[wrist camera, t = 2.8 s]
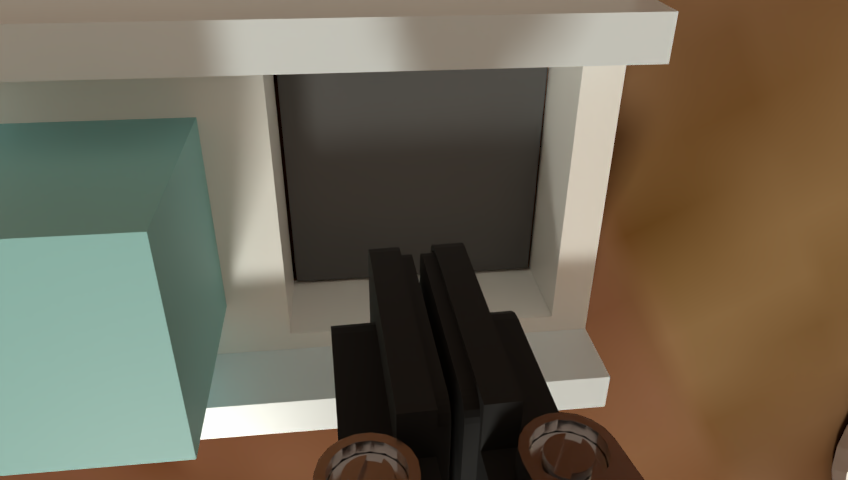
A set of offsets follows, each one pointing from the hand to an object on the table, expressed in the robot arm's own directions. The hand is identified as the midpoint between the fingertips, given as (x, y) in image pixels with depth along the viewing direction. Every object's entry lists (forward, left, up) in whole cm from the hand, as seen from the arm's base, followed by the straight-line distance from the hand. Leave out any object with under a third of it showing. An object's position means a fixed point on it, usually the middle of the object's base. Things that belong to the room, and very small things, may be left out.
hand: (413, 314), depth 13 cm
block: (+7, 0, -5) cm, 8 cm away
